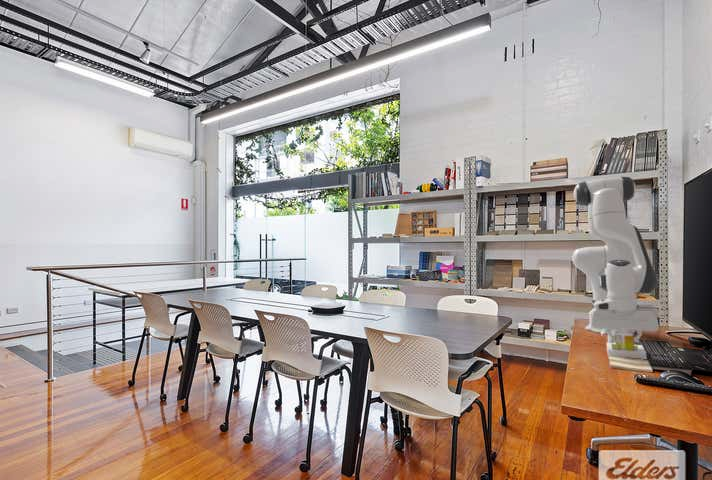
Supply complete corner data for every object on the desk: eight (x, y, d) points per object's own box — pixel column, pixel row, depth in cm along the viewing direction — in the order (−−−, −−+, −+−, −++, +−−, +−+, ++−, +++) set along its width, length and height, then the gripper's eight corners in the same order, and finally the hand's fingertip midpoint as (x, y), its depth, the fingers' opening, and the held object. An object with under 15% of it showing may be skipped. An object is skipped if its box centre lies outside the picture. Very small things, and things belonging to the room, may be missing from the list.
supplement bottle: (637, 354, 136) (635, 326, 136) (632, 357, 132) (630, 329, 133) (619, 351, 140) (617, 324, 140) (614, 354, 137) (612, 327, 137)
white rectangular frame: (606, 349, 144) (606, 342, 144) (642, 351, 138) (641, 345, 138) (608, 357, 135) (608, 350, 135) (646, 360, 129) (646, 353, 129)
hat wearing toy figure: (625, 344, 149) (623, 314, 149) (628, 346, 145) (625, 316, 146) (599, 342, 153) (597, 313, 153) (601, 345, 149) (598, 315, 149)
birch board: (608, 358, 133) (608, 356, 133) (647, 362, 127) (647, 359, 127) (610, 368, 123) (610, 365, 123) (652, 372, 118) (652, 369, 118)
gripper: (656, 303, 134) (659, 342, 134) (589, 302, 145) (592, 337, 144) (659, 306, 129) (662, 346, 128) (590, 304, 139) (592, 341, 139)
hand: (624, 341), depth 136 cm, fingers closed on supplement bottle, 6 cm apart
